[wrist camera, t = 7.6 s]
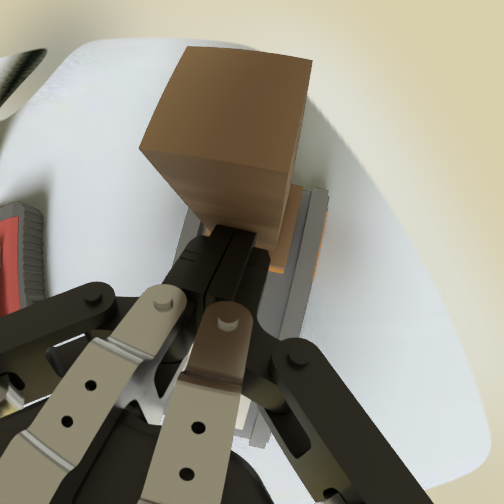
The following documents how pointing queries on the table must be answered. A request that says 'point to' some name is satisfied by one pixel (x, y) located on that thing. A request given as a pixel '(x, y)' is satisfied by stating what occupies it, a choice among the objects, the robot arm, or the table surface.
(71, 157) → the table surface
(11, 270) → the walkie-talkie
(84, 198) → the table surface
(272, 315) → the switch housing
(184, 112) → the brown wooden block
